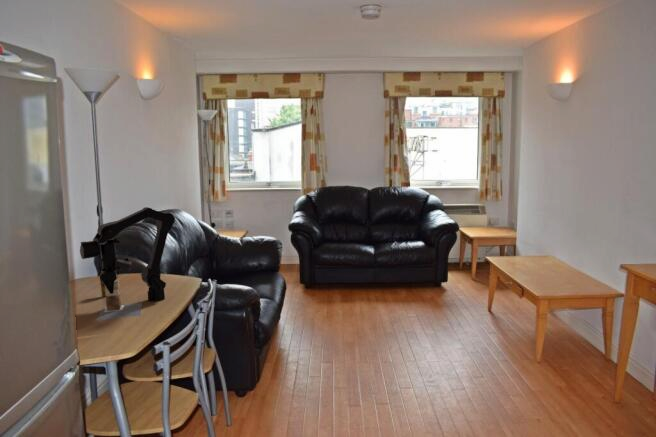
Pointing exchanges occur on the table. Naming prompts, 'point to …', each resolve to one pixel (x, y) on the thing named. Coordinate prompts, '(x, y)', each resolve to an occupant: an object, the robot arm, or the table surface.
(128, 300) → the table surface
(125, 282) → the table surface
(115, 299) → the walnut block
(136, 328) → the table surface
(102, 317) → the grey base plate
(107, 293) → the birch block
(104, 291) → the condiment
